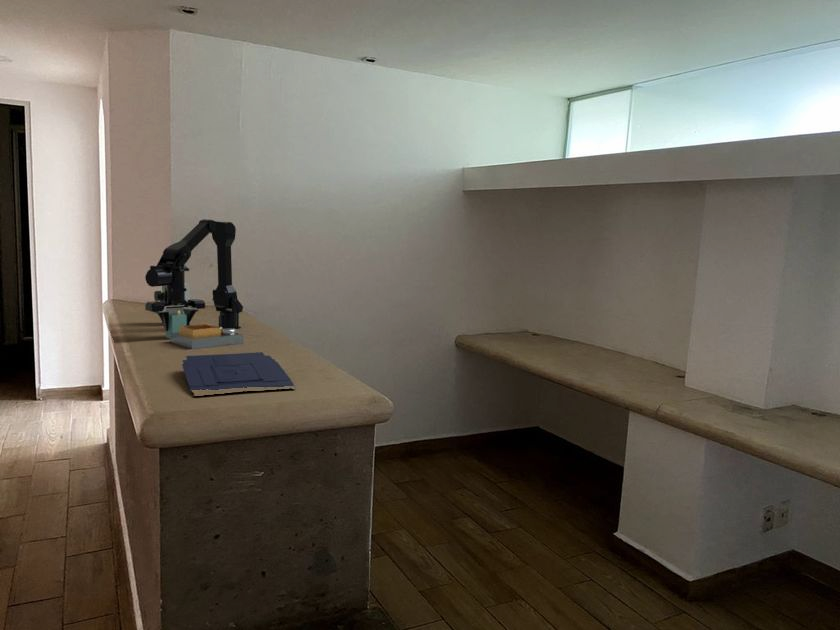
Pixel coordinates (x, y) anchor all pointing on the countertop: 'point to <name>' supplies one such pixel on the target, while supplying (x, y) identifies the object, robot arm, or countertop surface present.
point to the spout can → (176, 323)
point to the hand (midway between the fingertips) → (176, 330)
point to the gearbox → (205, 336)
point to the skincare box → (187, 297)
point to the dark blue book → (234, 371)
